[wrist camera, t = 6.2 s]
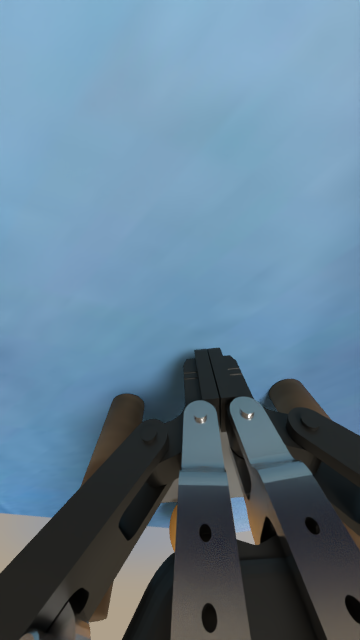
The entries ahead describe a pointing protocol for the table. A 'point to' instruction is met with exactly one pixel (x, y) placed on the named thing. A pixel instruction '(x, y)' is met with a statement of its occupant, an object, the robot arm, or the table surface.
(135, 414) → the post
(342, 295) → the table surface
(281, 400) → the post
